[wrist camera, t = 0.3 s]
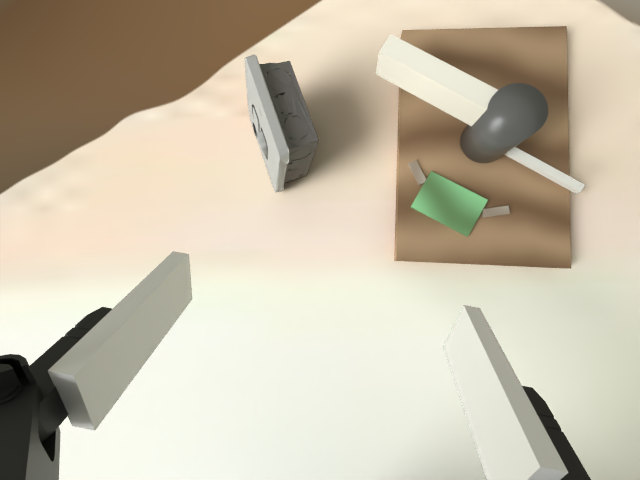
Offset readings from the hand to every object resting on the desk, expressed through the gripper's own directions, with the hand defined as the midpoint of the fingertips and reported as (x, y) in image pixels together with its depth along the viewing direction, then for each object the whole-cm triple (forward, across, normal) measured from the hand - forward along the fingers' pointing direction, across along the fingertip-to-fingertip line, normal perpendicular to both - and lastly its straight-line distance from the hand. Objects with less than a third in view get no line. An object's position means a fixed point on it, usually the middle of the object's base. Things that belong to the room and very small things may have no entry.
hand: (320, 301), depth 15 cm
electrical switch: (+22, +6, -2) cm, 23 cm away
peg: (+21, -12, -6) cm, 25 cm away
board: (+22, -13, -5) cm, 26 cm away
